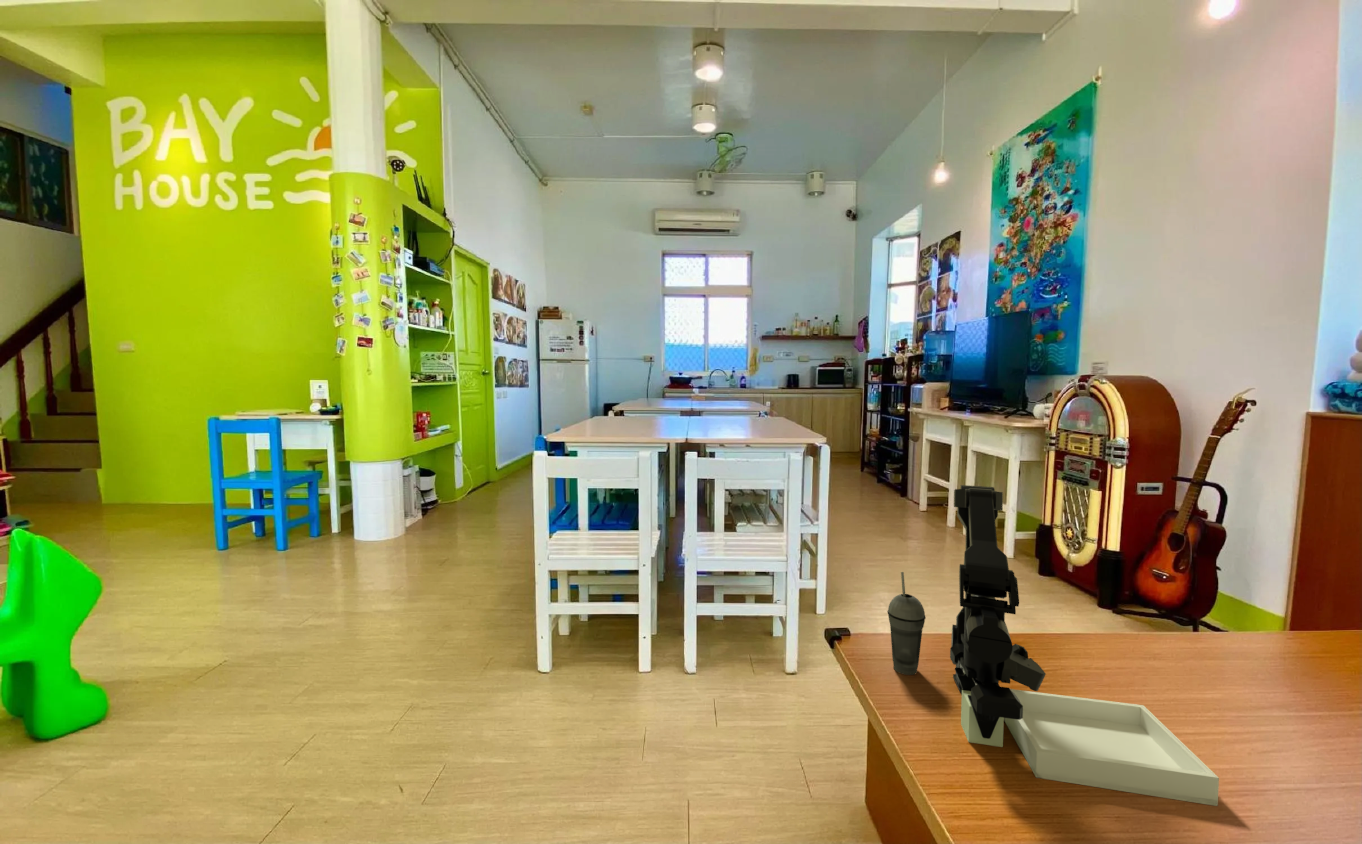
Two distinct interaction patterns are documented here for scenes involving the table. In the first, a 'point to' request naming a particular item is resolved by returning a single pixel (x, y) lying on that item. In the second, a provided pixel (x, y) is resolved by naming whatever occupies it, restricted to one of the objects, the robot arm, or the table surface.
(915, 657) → the beverage cup
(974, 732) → the sage block
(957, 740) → the table surface
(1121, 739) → the bin
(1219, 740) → the table surface
